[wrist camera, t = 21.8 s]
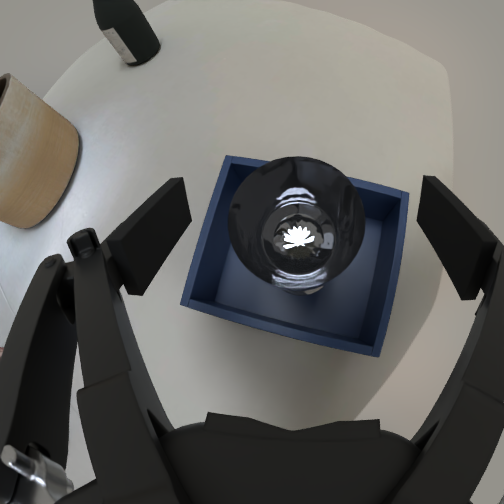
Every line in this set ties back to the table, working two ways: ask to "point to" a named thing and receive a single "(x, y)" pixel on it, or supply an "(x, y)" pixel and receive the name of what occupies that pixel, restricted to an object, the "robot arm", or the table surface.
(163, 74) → the table surface
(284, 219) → the wine glass
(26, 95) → the planter
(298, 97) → the table surface
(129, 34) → the wine bottle
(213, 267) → the bin
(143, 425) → the robot arm
